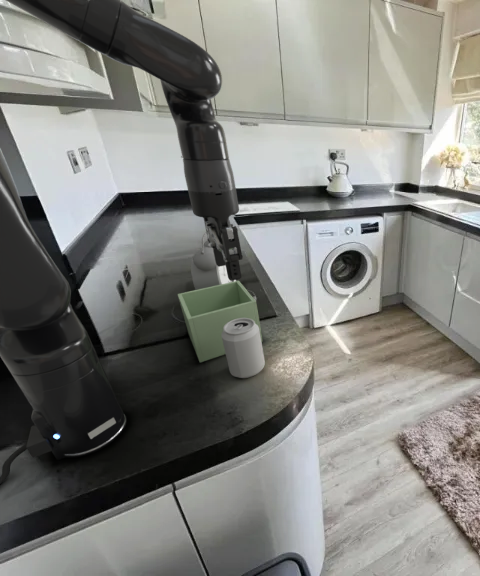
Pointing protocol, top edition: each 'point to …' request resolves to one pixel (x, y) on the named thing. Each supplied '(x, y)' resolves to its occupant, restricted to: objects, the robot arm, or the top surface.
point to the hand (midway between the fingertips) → (228, 272)
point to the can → (243, 347)
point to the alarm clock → (207, 268)
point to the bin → (215, 315)
